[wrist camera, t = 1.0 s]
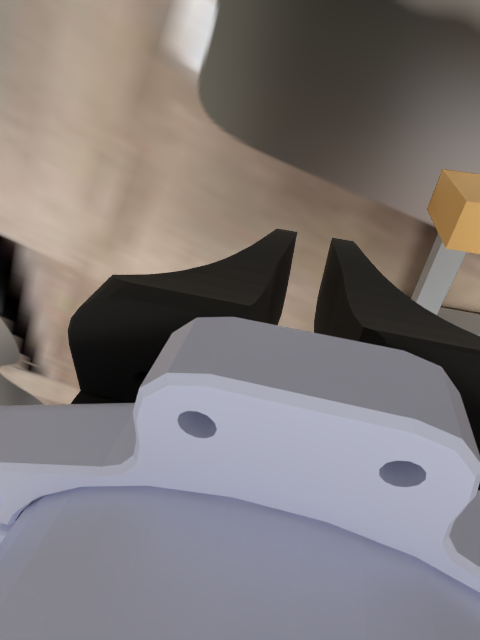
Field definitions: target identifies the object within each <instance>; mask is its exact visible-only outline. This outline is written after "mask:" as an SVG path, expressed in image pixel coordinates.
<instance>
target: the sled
mask: <svg viewBox="0 0 480 640" xmlns="http://www.w3.org/2000/svg"><path fill="white" fill-rule="evenodd" d="M427 210H428V212H429V214H430V216H431V219H432V221H433V223H434V225H435V227H436V229H437V231H438V235H437V237H436V240H435V242H434V244H433V247H432V249H431V252H430V254H429V256H428V259H427V261H426V264H425V266H424V268H423V271H422V273H421V276H420V278H419V280H418V283H417V285H416V288H415V290H414V292H413V295H412V297H411V299H412V300H413V301H415V302H416V303H418V304H419V305H421V306H422V307H424V308H425V309H427V310H429V311H430V312H432V313H434V314H436V315H437V316H439V317H441V318H442V319H444V320H446V321H448V322H450V323H452V324H454V325H456V326H458V327H460V328H462V329H465V330H467V331H469V332H471V333H473V334H476V335H478V336H480V314H475V313H470V312H464V311H459V310H453V309H448V308H442V307H441V305H442V303H443V301H444V298H445V296H446V294H447V292H448V290H449V288H450V286H451V284H452V282H453V280H454V278H455V276H456V274H457V271H458V269H459V267H460V265H461V263H462V261H463V259H464V257H465V255H466V253H467V252H470V253H476V254H480V174H475V173H467V172H460V171H453V170H446V169H442V172H441V174H440V177H439V180H438V182H437V185H436V187H435V190H434V193H433V195H432V198H431V200H430V204H429V206H428V208H427Z"/></svg>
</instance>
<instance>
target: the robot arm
mask: <svg viewBox="0 0 480 640" xmlns="http://www.w3.org/2000/svg"><path fill="white" fill-rule="evenodd" d="M296 236H297V232H293V231H287V230H281V229H276V230H274V231H273V232H271V233H270V234H268V235H267V236H266V237H264V238H263V239H261V240H260V241H258V242H256V243H255V244H253V245H252V246H250V247H248V248H246V249H244V250H242V251H240V252H238V253H237V254H235V255H233V256H230V257H228V258H226V259H223V260H220V261H217V262H215V263H212V264H208V265H205V266H200V267H196V268H192V269H188V270H183V271H177V272H170V273H161V274H148V275H112V276H111V277H110V278H109V279H108V280H107V281H106V282H105V283H104V284H103V285H102V286H101V287H100V288H99V289H98V290H97V291H96V292H95V293H94V294H93V295H92V296H91V297H90V298H89V299H88V300H87V301H86V302H84V303H83V304H82V305H81V306H80V307H79V309H78V310H77V311H76V312H75V314H74V315H73V316H72V318H71V320H70V324H69V328H68V338H69V346H70V350H71V354H72V358H73V362H74V366H75V370H76V374H77V378H78V382H79V386H80V390H81V391H80V392H79V394H78V395H77V396H76V397H75V399H74V400H73V401H72V403H71V404H61V405H18V406H3V405H0V640H480V336H478V335H476V334H473V333H471V332H469V331H467V330H465V329H462V328H460V327H458V326H456V325H454V324H452V323H450V322H448V321H446V320H444V319H442V318H441V317H439V316H437V315H436V314H434V313H432V312H430V311H429V310H427V309H425V308H424V307H422V306H421V305H419V304H418V303H416V302H415V301H413V300H412V299H411V298H409V297H408V296H407V295H405V294H404V293H403V292H401V291H400V290H399V289H398V288H396V287H395V286H394V285H393V284H392V283H391V282H390V281H389V280H388V279H386V278H385V277H384V276H383V275H382V274H381V273H380V272H379V271H378V270H377V268H376V267H375V266H374V265H373V264H372V263H371V262H370V261H369V259H368V258H367V257H366V256H365V255H364V253H363V252H362V251H361V250H360V249H359V247H358V246H357V245H356V244H355V243H354V242H353V241H348V240H342V239H336V238H332V240H331V244H330V249H329V253H328V257H327V261H326V265H325V269H324V274H323V278H322V282H321V286H320V290H319V294H318V300H317V306H316V313H315V320H314V333H313V332H308V331H303V330H298V329H293V328H288V327H283V326H278V322H279V320H280V317H281V314H282V309H283V305H284V300H285V296H286V291H287V286H288V280H289V275H290V269H291V264H292V258H293V253H294V247H295V241H296Z"/></svg>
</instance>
